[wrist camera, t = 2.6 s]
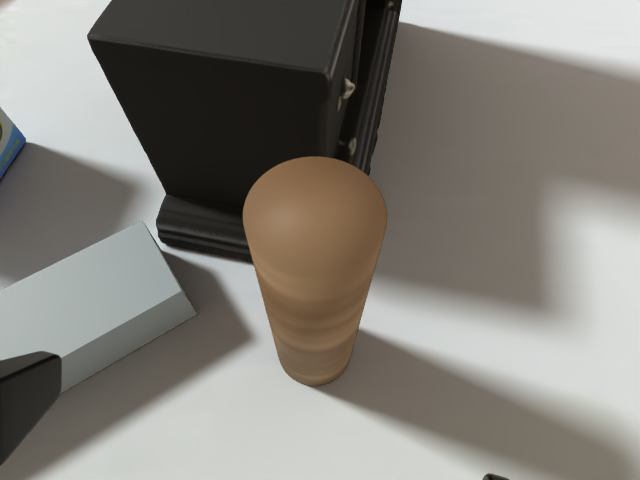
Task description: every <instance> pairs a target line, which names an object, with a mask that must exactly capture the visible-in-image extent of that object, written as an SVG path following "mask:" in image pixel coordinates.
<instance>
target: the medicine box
mask: <svg viewBox="0 0 640 480" xmlns="http://www.w3.org/2000/svg"><path fill="white" fill-rule="evenodd" d="M25 142H26V138H25V137H24V136H23V134H22V133H21V132H20V131H19V129H18V128H17V127H16V126H15V124H14V123H13V122H12V121H11V120H10V118H9V117H8V116H7V115H6V114H5V112H4V111H3V110H2V109H1V107H0V179H1V177H2V176H3V174H4V173H5V171H6V170H7V169H8V167H9V165H10V164H11V162H12V161H13V160H14V158H15V157H16V155H17V154H18V152H19V151H20V149H21V148H22V146H23V145H24V143H25Z"/></svg>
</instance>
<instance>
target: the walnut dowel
mask: <svg viewBox="0 0 640 480" xmlns="http://www.w3.org/2000/svg"><path fill="white" fill-rule="evenodd" d="M386 223H387V212H386V205H385V202H384V199H383V196H382V194H381V192H380V190H379V189H378V187H377V186H376V184H375V183H374V182H373V181H372V180H371V179H370V178H369V177H368V176H367V175H366V174H365V173H364V172H362V171H361V170H360V169H358V168H356V167H354V166H353V165H351V164H348V163H346V162H343V161H340V160H337V159H333V158H328V157H301V158H296V159H292V160H289V161H286V162H283V163H281V164H279V165H277V166H275V167H273V168H272V169H270V170H269V171H267V172H266V173H265V174H263V175H262V176H261V177H260V178H259V179H258V180H257V181H256V183H255V184H254V185H253V186H252V188H251V190H250V191H249V193H248V195H247V198H246V200H245V204H244V208H243V225H244V229H245V234H246V237H247V241H248V245H249V248H250V252H251V256H252V260H253V263H254V267H255V271H256V275H257V278H258V282H259V286H260V290H261V293H262V297H263V301H264V305H265V308H266V312H267V316H268V319H269V323H270V327H271V331H272V334H273V338H274V342H275V346H276V349H277V353H278V357H279V360H280V363H281V365H282V367H283V369H284V370H285V372H286V373H287V374H288V375H289V376H290V377H291V378H293V379H294V380H296V381H297V382H299V383H302V384H305V385H311V386H318V385H324V384H327V383H329V382H332V381H333V380H335V379H336V378H338V377H339V376H340V375H341V374H342V373H343V371H344V370H345V369H346V367H347V365H348V363H349V360H350V357H351V353H352V349H353V346H354V342H355V338H356V335H357V331H358V327H359V324H360V320H361V316H362V313H363V309H364V306H365V302H366V298H367V295H368V291H369V287H370V284H371V280H372V276H373V273H374V269H375V265H376V262H377V258H378V254H379V251H380V247H381V243H382V240H383V236H384V232H385V228H386Z"/></svg>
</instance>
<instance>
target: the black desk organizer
mask: <svg viewBox="0 0 640 480" xmlns="http://www.w3.org/2000/svg"><path fill="white" fill-rule="evenodd" d="M401 4H402V0H112V1H111V2H110V3H109V5H108V6H107V7H106V9H105V10H104V11H103V13H102V14H101V15H100V17H99V18H98V20H97V21H96V22H95V24H94V25H93V27H92V28H91V30H90V32H89V33H88V35H87V38H88V41H89V43H90V46H91V48H92V51H93V53H94V54H95V56H96V58H97V60H98V61H99V63H100V65H101V67H102V69H103V71H104V74H105V76H106V78H107V80H108V82H109V84H110V86H111V87H112V89H113V91H114V93H115V95H116V97H117V99H118V101H119V103H120V104H121V106H122V108H123V110H124V113H125V115H126V117H127V118H128V120H129V122H130V124H131V126H132V128H133V130H134V132H135V134H136V136H137V137H138V139H139V141H140V143H141V145H142V147H143V149H144V151H145V152H146V154H147V156H148V158H149V160H150V163H151V164H152V166H153V168H154V170H155V172H156V174H157V176H158V178H159V180H160V181H161V183H162V186H163V188H164V190H165V192H166V196H165V198H164V200H163V203H162V205H161V208H160V211H159V214H158V217H157V219H156V227H157V229H158V237H159V239H160V240H161V242H162V243H165V244H170V245H174V246H179V247H184V248H189V249H195V250H199V251H203V252H208V253H214V254H219V255H224V256H229V257H233V258H239V259H243V260H246V261H253V260H252V256H251V252H250V248H249V245H248V241H247V237H246V234H245V229H244V225H243V208H244V204H245V200H246V198H247V195H248V193H249V191H250V190H251V188H252V186H253V185H254V184H255V183H256V181H257V180H258V179H259V178H260V177H261V176H262V175H263V174H265V173H266V172H267V171H269V170H270V169H272V168H273V167H275V166H277V165H279V164H281V163H283V162H286V161H289V160H292V159H296V158H301V157H328V158H333V159H337V160H340V161H343V162H346V163H348V164H351V165H353V166H354V167H356V168H358V169H360V170H361V171H362V172H364V173H365V174H366V175H367V176H368V175H369V174H370V161H371V157H372V154H373V152H374V147H375V144H376V141H377V130H378V128H379V125H380V124H379V123H380V120H381V113H382V106H383V101H384V94H385V91H386V84H387V78H388V73H389V68H390V62H391V58H392V52H393V46H394V42H395V37H396V32H397V26H398V21H399V16H400V11H401Z"/></svg>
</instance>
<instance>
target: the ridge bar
mask: <svg viewBox="0 0 640 480" xmlns="http://www.w3.org/2000/svg"><path fill="white" fill-rule="evenodd" d="M195 315H197V313H196V311H195V309H194V308H193V306H192V304H191V302H190V300H189V299H188V297H187V295H186V293H185V292H184V290H183V288H182V286H181V284H180V283H179V281H178V279H177V277H176V275H175V274H174V272H173V270H172V268H171V267H170V265H169V263H168V261H167V259H166V258H165V256H164V254H163V252H162V251H161V249H160V247H159V246H158V244H157V243H156V241H155V239H154V238H153V236H152V235H151V233H150V232H149V230H148V228H147V227H146V225H145V224H144V222H143V221H140V222H138V223H136V224H134V225H132V226H130V227H128V228H126V229H124V230H122V231H120V232H117V233H115V234H113V235H111V236H109V237H107V238H105V239H103V240H101V241H99V242H97V243H95V244H93V245H91V246H89V247H87V248H85V249H83V250H81V251H79V252H77V253H75V254H73V255H71V256H69V257H67V258H65V259H63V260H61V261H59V262H57V263H55V264H53V265H51V266H49V267H47V268H44V269H42V270H40V271H38V272H36V273H34V274H32V275H30V276H28V277H26V278H24V279H22V280H20V281H18V282H16V283H14V284H12V285H10V286H8V287H6V288H4V289H2V290H0V360H4V359H8V358H13V357H17V356H21V355H25V354H29V353H33V352H37V351H46V352H50V353H53V354H57V355H59V356H60V357H61V359H62V388H61V392H60V394H61V393H63V392H64V391H66V390H68V389H70V388H71V387H73V386H75V385H77V384H78V383H80V382H82V381H83V380H85V379H87V378H89V377H90V376H92V375H94V374H95V373H97V372H99V371H101V370H102V369H104V368H106V367H107V366H109V365H111V364H113V363H114V362H116V361H118V360H119V359H121V358H123V357H125V356H126V355H128V354H130V353H132V352H133V351H135V350H137V349H138V348H140V347H142V346H144V345H145V344H147V343H149V342H150V341H152V340H154V339H156V338H157V337H159V336H161V335H162V334H164V333H166V332H168V331H169V330H171V329H173V328H174V327H176V326H178V325H180V324H181V323H183V322H185V321H187V320H188V319H190V318H192V317H193V316H195Z"/></svg>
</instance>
